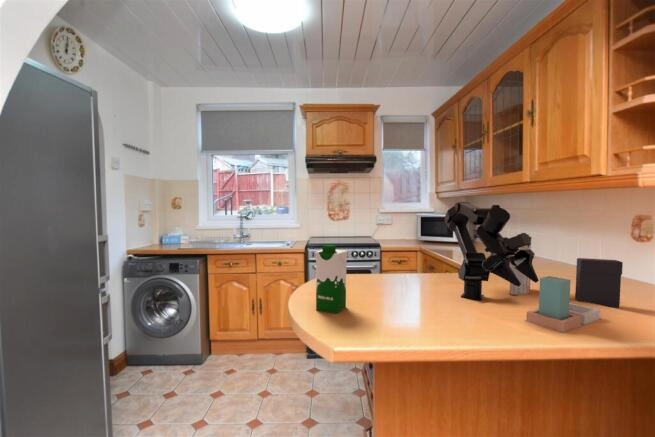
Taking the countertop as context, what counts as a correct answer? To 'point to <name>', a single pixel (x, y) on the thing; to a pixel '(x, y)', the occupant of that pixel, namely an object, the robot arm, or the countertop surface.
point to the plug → (554, 297)
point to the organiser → (576, 319)
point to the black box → (598, 281)
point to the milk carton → (330, 279)
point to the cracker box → (520, 279)
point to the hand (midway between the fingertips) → (528, 283)
